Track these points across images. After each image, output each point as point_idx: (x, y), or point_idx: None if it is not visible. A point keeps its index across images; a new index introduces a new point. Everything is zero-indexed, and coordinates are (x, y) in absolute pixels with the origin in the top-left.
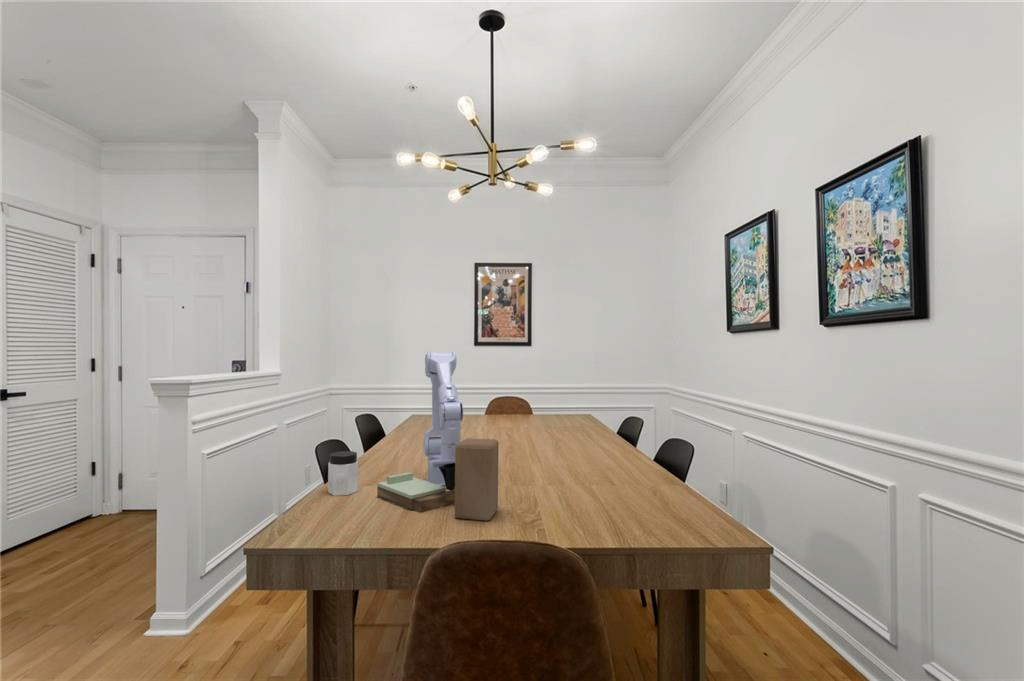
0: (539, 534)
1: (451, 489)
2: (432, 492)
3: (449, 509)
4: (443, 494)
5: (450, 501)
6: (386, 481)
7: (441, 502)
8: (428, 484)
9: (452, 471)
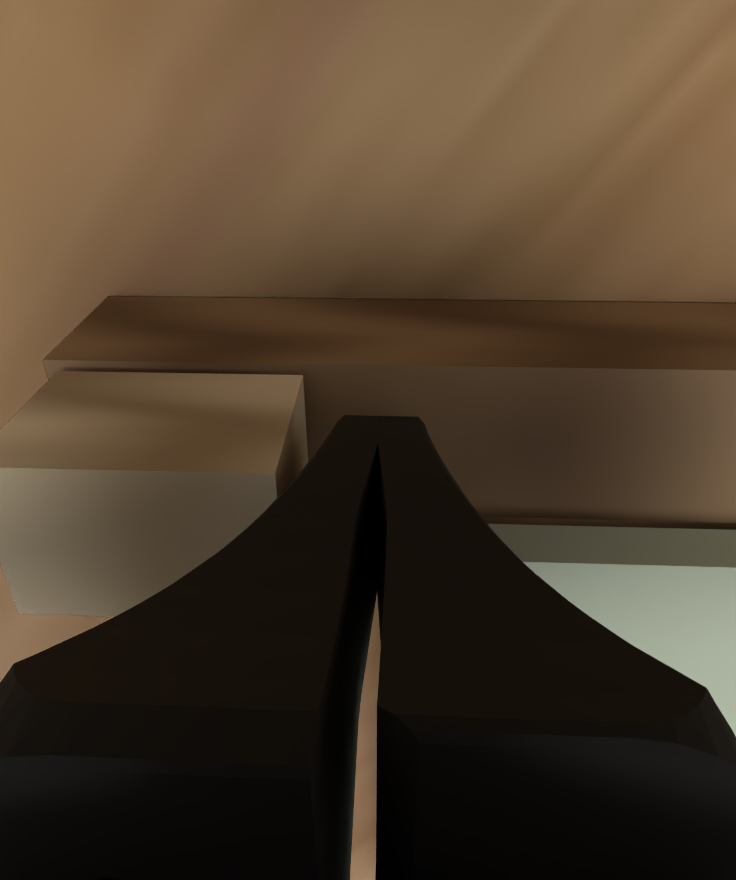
0: None
1: (403, 420)
2: (683, 545)
3: (621, 113)
4: (544, 425)
5: (436, 317)
6: None
7: (623, 324)
8: None
9: (513, 652)
